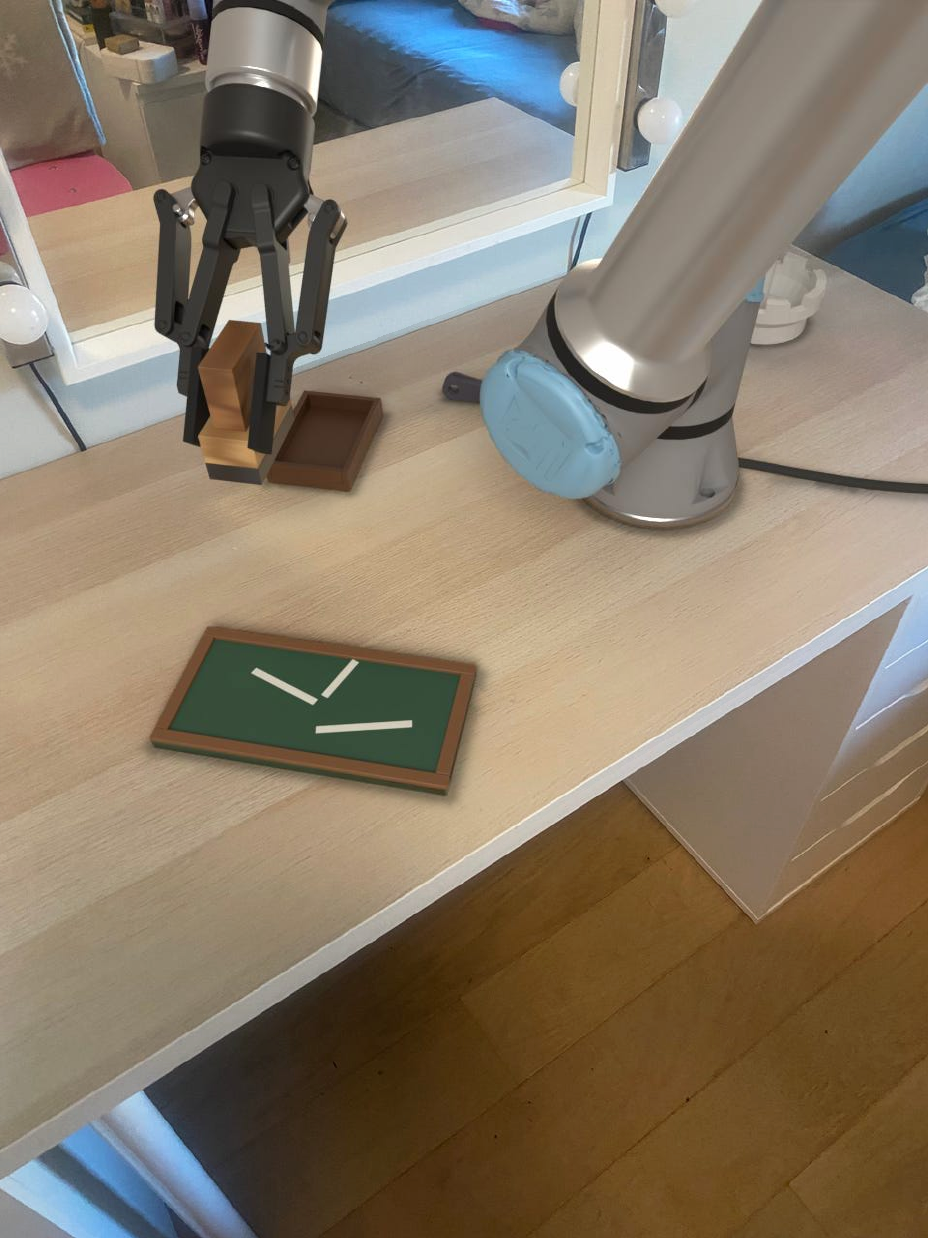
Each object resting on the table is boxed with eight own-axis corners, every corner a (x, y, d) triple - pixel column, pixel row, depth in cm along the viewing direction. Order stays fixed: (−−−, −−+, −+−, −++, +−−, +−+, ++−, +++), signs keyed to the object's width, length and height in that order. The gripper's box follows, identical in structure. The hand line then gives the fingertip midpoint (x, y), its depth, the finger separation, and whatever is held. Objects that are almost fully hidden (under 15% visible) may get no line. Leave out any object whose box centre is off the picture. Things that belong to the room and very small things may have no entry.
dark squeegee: (456, 359, 99) (456, 336, 97) (590, 370, 97) (592, 347, 95) (429, 437, 90) (428, 414, 88) (577, 451, 88) (579, 428, 86)
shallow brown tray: (383, 416, 92) (381, 397, 91) (350, 492, 84) (347, 472, 83) (307, 408, 94) (304, 389, 92) (267, 482, 86) (263, 463, 84)
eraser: (294, 419, 70) (276, 316, 63) (261, 485, 65) (238, 379, 58) (246, 414, 70) (222, 310, 64) (209, 479, 65) (180, 374, 59)
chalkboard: (476, 674, 69) (476, 664, 68) (446, 796, 62) (446, 787, 61) (210, 636, 73) (207, 625, 72) (153, 748, 65) (148, 737, 64)
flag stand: (686, 336, 101) (742, 30, 79) (712, 283, 109) (769, -9, 87) (804, 358, 98) (897, 45, 76) (822, 302, 106) (911, 3, 83)
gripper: (393, 138, 64) (358, 466, 65) (169, 127, 66) (141, 444, 68) (367, 81, 57) (329, 452, 58) (116, 71, 59) (85, 428, 60)
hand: (228, 447), depth 63 cm, fingers closed on eraser, 4 cm apart
